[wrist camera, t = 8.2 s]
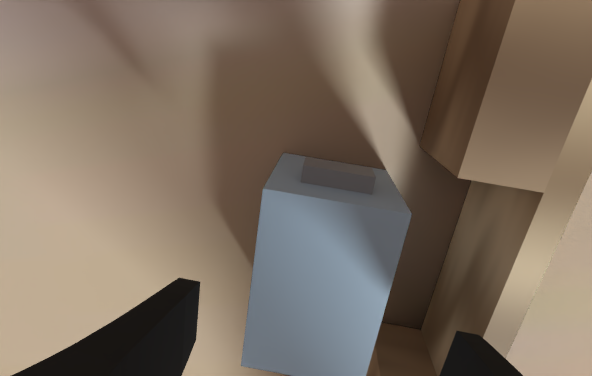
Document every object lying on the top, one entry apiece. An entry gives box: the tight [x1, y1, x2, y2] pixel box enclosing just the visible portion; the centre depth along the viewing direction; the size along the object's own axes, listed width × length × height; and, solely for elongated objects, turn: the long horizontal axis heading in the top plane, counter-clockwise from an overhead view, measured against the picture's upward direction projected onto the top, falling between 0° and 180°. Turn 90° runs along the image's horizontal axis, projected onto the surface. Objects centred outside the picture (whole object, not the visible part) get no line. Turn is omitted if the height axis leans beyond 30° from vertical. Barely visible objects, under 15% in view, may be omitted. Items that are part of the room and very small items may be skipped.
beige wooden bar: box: [366, 0, 592, 376], centre depth 14 cm, size 22×4×4 cm, turn 171°
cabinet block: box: [241, 153, 412, 376], centre depth 14 cm, size 8×4×5 cm, turn 171°
